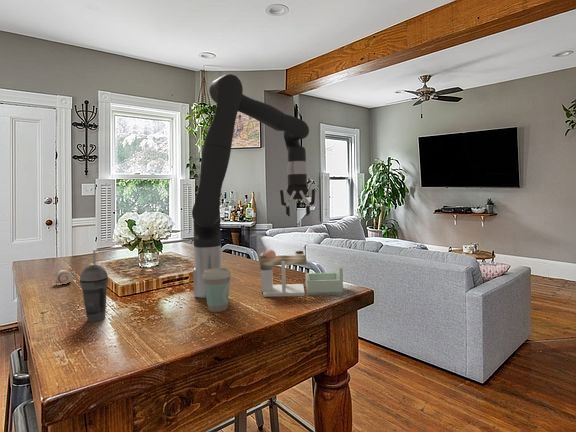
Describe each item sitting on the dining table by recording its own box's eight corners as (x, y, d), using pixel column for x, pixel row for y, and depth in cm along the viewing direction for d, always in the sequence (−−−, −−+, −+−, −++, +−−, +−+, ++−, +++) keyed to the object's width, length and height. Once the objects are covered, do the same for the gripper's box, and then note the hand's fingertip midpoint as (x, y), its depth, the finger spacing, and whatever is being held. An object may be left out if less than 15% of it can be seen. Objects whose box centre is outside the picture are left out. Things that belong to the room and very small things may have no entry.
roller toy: (53, 285, 147) (52, 270, 147) (71, 282, 152) (70, 268, 151) (55, 286, 144) (55, 272, 144) (74, 283, 148) (73, 269, 148)
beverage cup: (103, 313, 109) (100, 247, 108) (115, 318, 105) (111, 249, 103) (77, 320, 104) (73, 250, 102) (88, 325, 99) (84, 252, 98)
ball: (264, 262, 126) (263, 250, 126) (264, 260, 130) (264, 249, 130) (275, 261, 126) (275, 250, 126) (276, 259, 130) (275, 248, 130)
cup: (307, 295, 123) (307, 269, 122) (305, 286, 135) (305, 262, 134) (343, 294, 123) (342, 268, 122) (338, 285, 135) (337, 261, 134)
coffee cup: (226, 314, 106) (224, 273, 105) (198, 312, 107) (197, 272, 107) (236, 305, 114) (234, 267, 113) (210, 304, 116) (209, 266, 115)
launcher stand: (260, 296, 123) (259, 263, 122) (262, 287, 135) (261, 256, 134) (304, 295, 123) (303, 262, 122) (303, 286, 135) (302, 255, 134)
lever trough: (260, 270, 125) (259, 255, 125) (262, 262, 138) (262, 249, 138) (306, 269, 125) (306, 254, 125) (304, 261, 138) (304, 248, 138)
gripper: (278, 173, 138) (279, 217, 139) (316, 172, 138) (317, 216, 139) (278, 174, 146) (280, 215, 147) (314, 173, 146) (315, 215, 147)
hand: (298, 215), depth 143 cm, fingers open, 6 cm apart
